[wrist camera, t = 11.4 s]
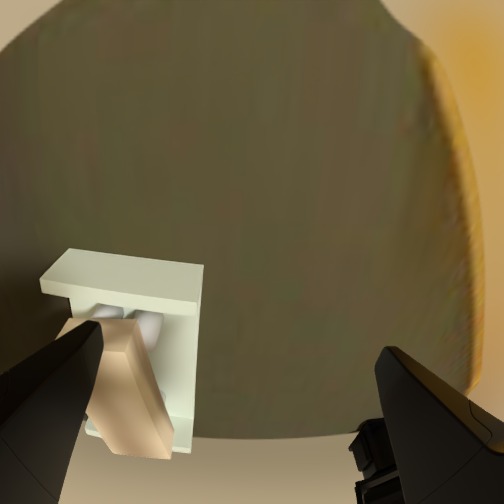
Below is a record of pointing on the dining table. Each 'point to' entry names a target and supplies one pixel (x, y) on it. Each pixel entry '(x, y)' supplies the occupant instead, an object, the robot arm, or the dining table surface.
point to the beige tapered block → (127, 393)
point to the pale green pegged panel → (142, 317)
